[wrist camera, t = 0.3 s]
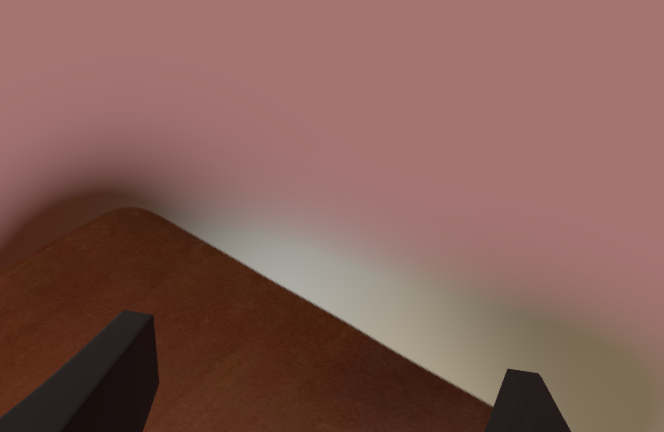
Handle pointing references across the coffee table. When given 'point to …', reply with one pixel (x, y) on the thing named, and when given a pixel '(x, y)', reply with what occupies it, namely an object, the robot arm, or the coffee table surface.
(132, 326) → the robot arm
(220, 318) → the coffee table surface
